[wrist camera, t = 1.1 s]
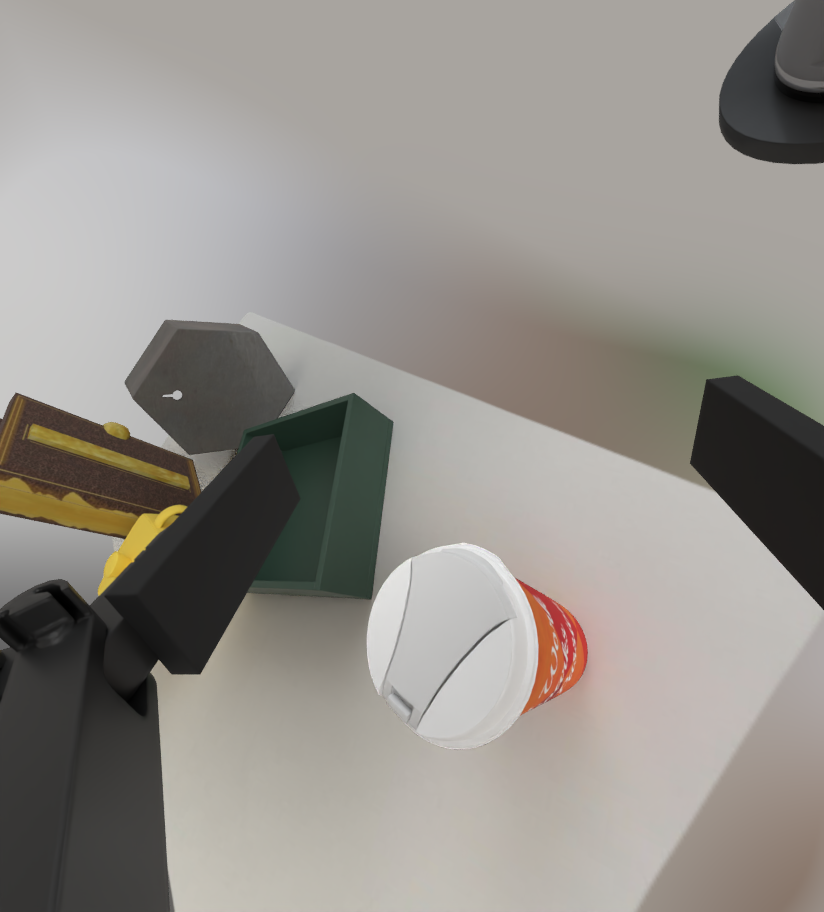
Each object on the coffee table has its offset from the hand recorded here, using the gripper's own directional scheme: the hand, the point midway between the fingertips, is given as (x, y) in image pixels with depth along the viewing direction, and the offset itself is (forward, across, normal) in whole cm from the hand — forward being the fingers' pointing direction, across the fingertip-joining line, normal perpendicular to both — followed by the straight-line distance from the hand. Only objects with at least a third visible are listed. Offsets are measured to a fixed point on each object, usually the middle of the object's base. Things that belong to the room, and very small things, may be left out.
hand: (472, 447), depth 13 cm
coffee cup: (+7, +3, -20) cm, 22 cm away
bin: (+24, -20, -20) cm, 37 cm away
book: (+38, -51, -26) cm, 69 cm away
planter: (+44, -34, -15) cm, 57 cm away
